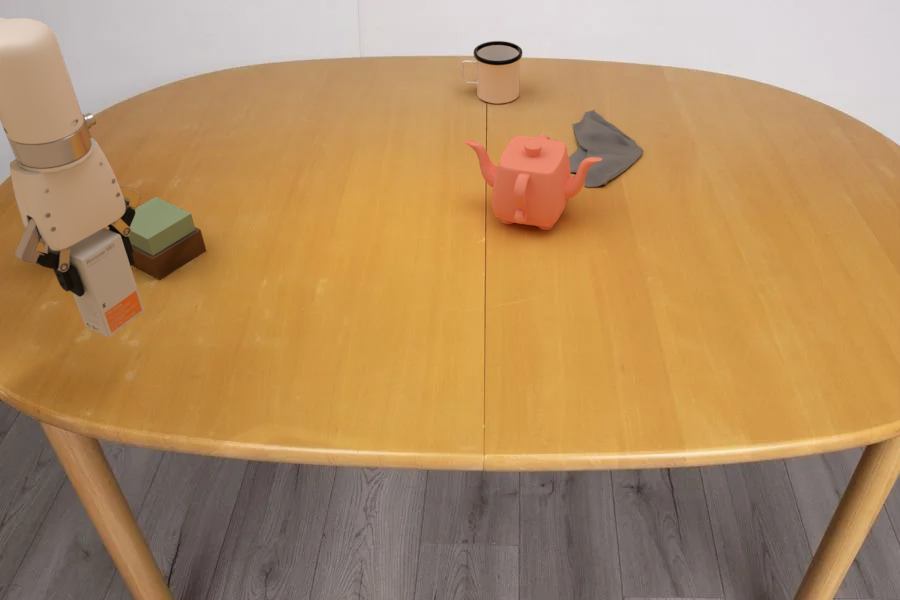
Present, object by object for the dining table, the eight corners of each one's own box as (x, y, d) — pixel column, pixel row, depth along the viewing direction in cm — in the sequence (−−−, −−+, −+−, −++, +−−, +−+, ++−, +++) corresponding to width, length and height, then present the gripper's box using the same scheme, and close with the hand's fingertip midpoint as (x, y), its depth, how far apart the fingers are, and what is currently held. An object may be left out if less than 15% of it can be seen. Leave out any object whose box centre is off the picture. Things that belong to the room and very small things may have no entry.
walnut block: (159, 280, 130) (152, 258, 127) (121, 259, 134) (113, 238, 131) (206, 250, 135) (200, 229, 133) (168, 231, 139) (161, 210, 137)
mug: (525, 85, 176) (525, 42, 170) (518, 107, 170) (518, 63, 164) (466, 81, 178) (465, 38, 172) (457, 103, 171) (455, 59, 165)
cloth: (634, 193, 147) (636, 181, 146) (554, 183, 150) (554, 172, 148) (648, 119, 166) (649, 108, 165) (576, 112, 168) (577, 101, 167)
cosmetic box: (109, 339, 106) (79, 261, 98) (85, 327, 107) (53, 249, 99) (147, 311, 110) (121, 233, 102) (123, 300, 111) (95, 222, 103)
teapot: (597, 223, 141) (603, 154, 132) (505, 250, 135) (506, 180, 127) (552, 178, 151) (555, 111, 142) (465, 202, 145) (463, 134, 137)
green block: (153, 255, 128) (147, 239, 126) (118, 237, 131) (112, 221, 129) (195, 229, 133) (191, 213, 131) (161, 212, 136) (156, 196, 134)
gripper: (98, 100, 99) (140, 230, 111) (-48, 166, 88) (15, 302, 100) (142, 120, 96) (179, 251, 108) (-5, 190, 85) (55, 327, 97)
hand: (100, 274), depth 104 cm, fingers closed on cosmetic box, 6 cm apart
